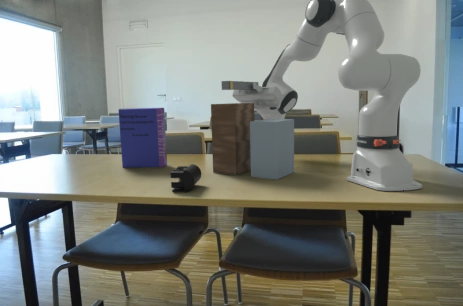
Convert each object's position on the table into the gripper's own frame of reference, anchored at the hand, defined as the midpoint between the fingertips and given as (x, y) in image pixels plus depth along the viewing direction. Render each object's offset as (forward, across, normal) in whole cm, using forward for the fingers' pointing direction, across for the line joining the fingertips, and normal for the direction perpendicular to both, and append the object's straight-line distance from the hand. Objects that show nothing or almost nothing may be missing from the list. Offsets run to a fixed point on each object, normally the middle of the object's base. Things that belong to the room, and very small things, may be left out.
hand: (248, 84), depth 140 cm
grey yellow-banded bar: (+4, 0, +4) cm, 6 cm away
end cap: (+20, +2, +49) cm, 53 cm away
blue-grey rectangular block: (-6, +16, +33) cm, 38 cm away
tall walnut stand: (-6, 0, +33) cm, 34 cm away
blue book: (+1, -38, +38) cm, 54 cm away
